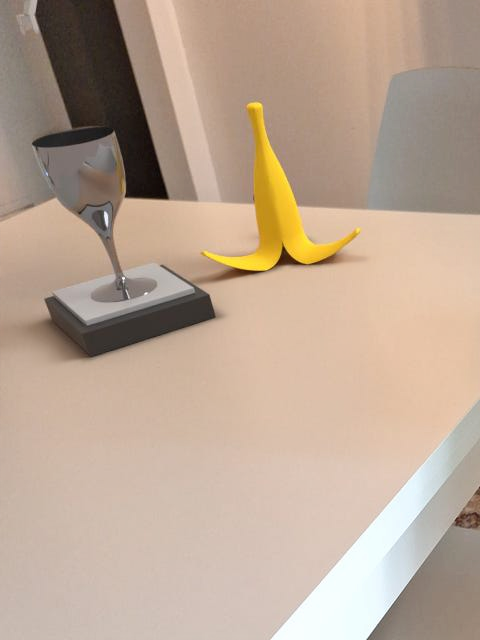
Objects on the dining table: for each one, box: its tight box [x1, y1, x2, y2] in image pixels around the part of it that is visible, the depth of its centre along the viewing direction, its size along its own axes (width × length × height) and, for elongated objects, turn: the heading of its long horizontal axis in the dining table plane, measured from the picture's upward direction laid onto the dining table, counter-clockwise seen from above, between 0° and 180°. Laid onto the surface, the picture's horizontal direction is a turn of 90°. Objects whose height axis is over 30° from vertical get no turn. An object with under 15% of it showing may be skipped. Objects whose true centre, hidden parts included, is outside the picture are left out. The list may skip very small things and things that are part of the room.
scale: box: [43, 262, 216, 358], centre depth 101 cm, size 14×14×3 cm
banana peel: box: [200, 101, 362, 272], centre depth 108 cm, size 16×19×17 cm
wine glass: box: [31, 126, 157, 302], centre depth 95 cm, size 8×8×15 cm
